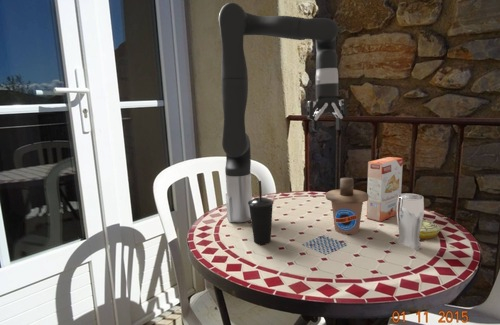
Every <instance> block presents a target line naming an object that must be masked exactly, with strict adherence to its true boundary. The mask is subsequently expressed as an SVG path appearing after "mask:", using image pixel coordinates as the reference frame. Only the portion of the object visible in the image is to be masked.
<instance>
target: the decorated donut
mask: <svg viewBox="0 0 500 325" xmlns="http://www.w3.org/2000/svg"><path fill="white" fill-rule="evenodd" d="M439 232H441V228H440V227H439V225H438V224H436V223H434V222H433V221H430V220H427V219H423V222H422V226H421V230H420V235H419V240H429V239H434V238H435V237H437V236H438V235H439Z"/></svg>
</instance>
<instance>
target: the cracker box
mask: <svg viewBox="0 0 500 325" xmlns="http://www.w3.org/2000/svg"><path fill="white" fill-rule="evenodd" d="M403 162H404V159H403V157H394V156H392V157H391V156H387V157H383V158H380V159H378V158H377V159H375V160H374V159H373V160H371V161H370V160H369V161H368V162H367V188H366V189H367V192H366V193H367V194H368V195H369V199H368V200H367V201H366V219H367V220H368V219H369V220H373V221H377V222H382V221H385V220H388V219H389V218H391V217H394V216H397V213H396V209H397V199H398V195H399V194H402V185H403V184H402V183H403V167H404V166H403V165H404V163H403Z"/></svg>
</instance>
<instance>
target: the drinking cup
mask: <svg viewBox="0 0 500 325" xmlns="http://www.w3.org/2000/svg"><path fill="white" fill-rule="evenodd" d="M262 194H263V193H262V181H261V180H258V196H259V197H254V198H252V200H250V201H249V202H248V205H249V209H250V216H251V220H250V222H251V228H252V236H253V242H254V243H255V244H257V245H267V244H270V243H271V242H272V239H271V238H272V224H273V222H272V220H273V205H274V203H275V202H274V200H273V199H271V198H268V197H265V196H264V197H263V196H262Z"/></svg>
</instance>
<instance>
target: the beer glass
mask: <svg viewBox="0 0 500 325" xmlns="http://www.w3.org/2000/svg"><path fill="white" fill-rule="evenodd" d="M396 213H397V214H396V222H397V227H398V239H397V243H398V244H399V245H400V246H403V247H408V248H411V249H413V250H415V251H420V250H421V240H420V239H419V235H420V230H421V226H422V222H423V220H424V215H425V203H424V196H423V195H420V194H416V193H407V192H405V193H401V194H399V195H398V199H397V209H396Z"/></svg>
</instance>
